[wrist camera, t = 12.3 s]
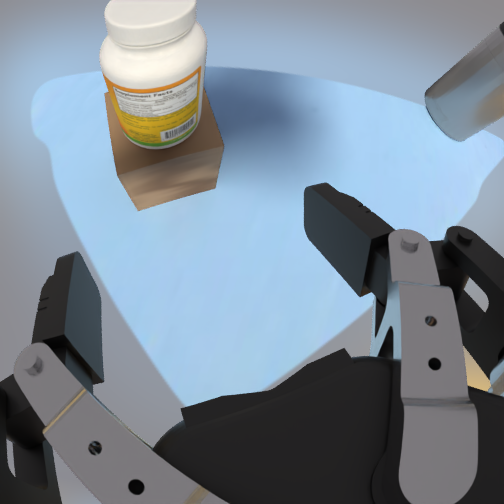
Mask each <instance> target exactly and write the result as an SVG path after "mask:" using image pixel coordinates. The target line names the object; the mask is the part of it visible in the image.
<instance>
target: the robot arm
mask: <svg viewBox="0 0 504 504" xmlns="http://www.w3.org/2000/svg"><path fill="white" fill-rule="evenodd" d="M425 103H426V106H427V109H428V111H429V113H430V115H431V116H432V118H433V120H434V121H435V122H436V124H437V125H438V126H439V127H440V129H441V130H442V131H443V132H444V133H445V134H446V135H448V136H449V137H451V138H452V139H454V140H456V141H464V140H466V139H468V138H469V137H471V136H473V135H474V134H476V133H477V132H479V131H481V130H483V129H484V128H486V127H487V126H489V125H491V124H492V123H494V122H496V121H497V120H499V119H500V118H502V117H504V22H503V23H502V24H500V26H498V27H497V28H496V29H495V30H494V31H493V32H491V34H489V35H488V36H487V37H486V38H485V39H484V40H482V41H481V42H480V43H479V44H478V45H477V46H476V47H475V48H473V50H471V51H470V52H469V53H468V54H467V55H466V56H464V57H463V58H462V59H461V60H460V61H459V62H458V63H457V64H456V65H454V66H453V67H452V68H451V69H450V70H449V71H448V72H447V73H445V74H444V75H443V76H442V77H441V78H440V79H438V81H436V82H435V83H434V84H433V85H432V86H431V87H430V88H428V89H427V90H426V92H425ZM304 228H305V232H306V235H307V237H308V239H309V240H310V241H311V242H312V244H313V245H314V246H315V247H316V248H317V249H318V250H319V251H320V252H321V254H322V255H323V256H324V257H325V258H326V259H327V260H328V261H329V263H330V264H331V265H332V266H333V267H334V268H335V269H336V271H337V272H338V273H339V274H340V275H341V276H342V277H343V279H344V280H345V281H346V282H347V283H348V284H349V285H350V287H351V288H352V289H353V290H354V291H355V292H356V294H357V295H358V296H359V297H362V296H364V295H366V294H368V293H371V292H372V293H373V294H374V295H375V296H374V300H373V319H372V341H371V350H370V355H369V356H360V357H352V358H351V357H350V355H349V354H348V353H347V351H346V350H345V348H343V349H341V350H339V351H336V352H334V353H332V354H330V355H327V356H325V357H323V358H321V359H318V360H316V361H314V362H311V363H309V364H307V365H306V366H304V367H303V368H302V369H301V370H299V371H298V372H296V373H295V374H294V375H292V376H291V377H289V378H288V379H287V380H285V381H284V382H282V383H281V384H280V385H278V386H277V387H275V388H273V389H271V390H269V391H262V392H255V393H246V394H237V395H227V396H221V397H218V398H215V399H211V400H208V401H205V402H202V403H198V404H195V405H191V406H188V407H185V408H181V412H182V416H183V419H184V420H183V421H181V422H179V423H178V424H176V425H175V426H174V427H172V428H171V429H170V430H168V431H167V432H166V433H165V434H164V435H163V436H162V437H161V438H160V440H159V441H158V442H157V443H156V445H155V446H154V448H153V447H152V446H151V445H149V444H148V443H147V442H146V441H144V440H143V439H141V437H139V436H138V435H137V434H136V433H134V432H133V431H132V430H131V429H130V428H128V427H127V426H126V425H125V424H124V423H123V422H122V421H120V419H119V418H117V417H116V416H115V415H114V414H113V413H112V412H111V411H110V410H109V409H108V408H107V407H106V406H105V405H104V404H102V402H101V401H99V399H97V398H96V397H95V396H94V395H93V385H94V384H98V383H102V382H104V372H103V356H102V333H101V331H102V328H101V297H100V293H99V290H98V287H97V285H96V283H95V281H94V279H93V278H92V276H91V274H90V272H89V270H88V268H87V266H86V264H85V262H84V260H83V258H82V256H81V254H80V253H79V252H74V253H71V254H68V255H65V256H62V257H59V258H58V259H57V262H56V266H55V271H54V275H52V276H49V278H48V279H47V281H46V283H45V284H44V286H43V288H42V291H41V295H40V299H39V300H40V302H39V304H38V312H37V314H36V320H35V326H34V331H33V337H32V343H31V345H29V346H28V347H26V348H25V349H24V350H23V351H22V352H21V353H20V354H19V356H18V357H17V359H16V362H15V365H14V374H12V375H11V376H9V377H7V378H6V379H4V380H3V381H1V382H0V504H62V501H61V497H60V492H59V487H58V482H57V476H56V470H55V463H54V457H53V450H52V447H53V448H54V450H55V451H56V452H57V454H58V455H59V456H60V457H61V459H62V460H63V461H64V462H65V464H66V465H67V466H68V467H69V468H70V469H71V471H72V472H73V473H74V474H75V475H76V476H77V478H78V479H79V480H80V481H81V482H82V483H83V484H84V486H85V487H86V488H87V489H88V490H89V491H90V492H91V493H92V494H93V495H94V496H95V497H96V498H97V499H98V500H99V501H100V502H101V503H102V504H504V258H503V257H502V256H501V255H500V254H498V253H497V252H496V251H495V250H494V249H493V248H492V247H491V246H489V245H488V244H487V243H486V242H485V241H484V240H482V239H481V238H480V237H479V236H478V235H477V234H475V233H474V232H473V231H471V230H469V229H467V228H464V227H461V226H452V227H450V228H448V229H447V231H446V235H445V238H444V240H441V241H428V239H427V238H426V237H425V236H423V235H422V234H420V233H418V232H416V231H413V230H408V229H399V230H395V229H394V228H392V227H391V226H390V225H389V224H387V223H386V222H385V221H384V220H382V219H381V218H380V217H379V216H377V215H376V214H375V213H374V212H371V210H370V209H368V208H367V207H366V206H363V204H362V203H361V202H359V201H358V200H357V199H355V198H354V197H352V196H349V195H347V194H344V193H340V192H339V191H337V190H336V189H335V188H333V187H332V186H331V185H329V184H328V183H321V184H316V185H312V186H308V187H306V188H305V191H304ZM469 277H470V278H471V279H472V280H473V281H474V282H475V283H476V284H477V285H478V286H479V287H480V288H481V289H482V290H483V291H484V292H485V294H486V295H487V297H488V300H489V306H488V309H487V310H486V312H484V311H483V310H482V309H481V308H480V307H479V306H478V305H477V303H476V302H475V301H474V300H473V299H472V298H471V297H470V296H469V295H468V294H467V293H466V292H465V290H464V288H465V285H466V283H467V281H468V279H469ZM463 346H464V347H465V348H466V349H467V351H468V352H469V353H470V355H471V356H472V357H473V359H474V360H475V361H476V363H477V364H478V365H479V367H480V368H481V369H482V371H483V372H484V373H485V374H486V376H487V377H488V379H489V380H490V383H491V387H490V388H489V389H488V392H487V391H483V390H480V389H477V388H474V387H471V386H467V376H466V367H465V358H464V351H463ZM6 439H8V440H9V441H11V442H12V443H13V455H14V467H15V476H16V477H14V475H13V474H12V473H11V471H10V469H9V466H8V462H7V461H8V460H7V443H6Z"/></svg>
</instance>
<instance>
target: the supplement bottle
mask: <svg viewBox="0 0 504 504" xmlns="http://www.w3.org/2000/svg"><path fill="white" fill-rule="evenodd" d="M196 2H197V0H111V1H110V2H109V3H108V5H107V7H106V9H105V14H104V15H105V22H106V26H107V30H108V36H107V37H106V38H105V40H104V41H103V43H102V46H101V49H100V55H99V59H100V65H101V69H102V73H103V76H104V79H105V82H106V85H107V88H108V91H109V94H110V97H111V100H112V103H113V106H114V109H115V112H116V115H117V118H118V120H119V123H120V126H121V128H122V130H123V133H124V134H125V136H126V137H127V138H128V139H129V140H130V141H131V142H133V143H134V144H136V145H138V146H140V147H143V148H147V149H164V148H169V147H172V146H175V145H177V144H179V143H181V142H183V141H184V140H185V139H187V138H188V137H189V136H190V135H191V134H192V133H193V132H194V130H195V129H196V127H197V125H198V123H199V120H200V116H201V108H202V95H203V83H204V73H205V63H206V54H207V38H206V34H205V31H204V29H203V28H202V27H201V25H200V24H199V23H198V22H197V21H196V20H195V19H196V4H197V3H196Z"/></svg>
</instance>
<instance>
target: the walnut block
mask: <svg viewBox="0 0 504 504" xmlns="http://www.w3.org/2000/svg"><path fill="white" fill-rule="evenodd" d="M105 102H106V110H107V117H108V124H109V131H110V138H111V144H112V150H113V156H114V161H115V167H116V172H117V176H118V178H119V180H120V181H121V183H122V185H123V186H124V188H125V190H126V192H127V193H128V195H129V197H130V198H131V200H132V202H133V203H134V205H135V207H136V208H137V210H138V211H140V210H143V209H146V208H149V207H153V206H156V205H159V204H162V203H166V202H169V201H173V200H176V199H179V198H183V197H186V196H190V195H193V194H197V193H200V192H204V191H208V190H211V189H215V188H216V183H217V178H218V173H219V168H220V164H221V159H222V154H223V150H224V143H223V140H222V138H221V135H220V132H219V129H218V126H217V123H216V120H215V117H214V115H213V112H212V109H211V106H210V103H209V100H208V97H207V95H206V92H205V89H204V86H203V95H202V108H201V116H200V120H199V123H198V125H197V127H196V129H195V130H194V132H193V133H192V134H191V135H190V136H189V137H188V138H187V139H185V140H184V141H183V142H181V143H179V144H177V145H175V146H172V147H169V148H164V149H147V148H143V147H140V146H138V145H136V144H134V143H133V142H131V141H130V140H129V139H128V138H127V137H126V136H125V134H124V133H123V130H122V128H121V126H120V123H119V120H118V118H117V115H116V112H115V109H114V106H113V103H112V100H111V97H110V94H109V92H107V93H105Z"/></svg>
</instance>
